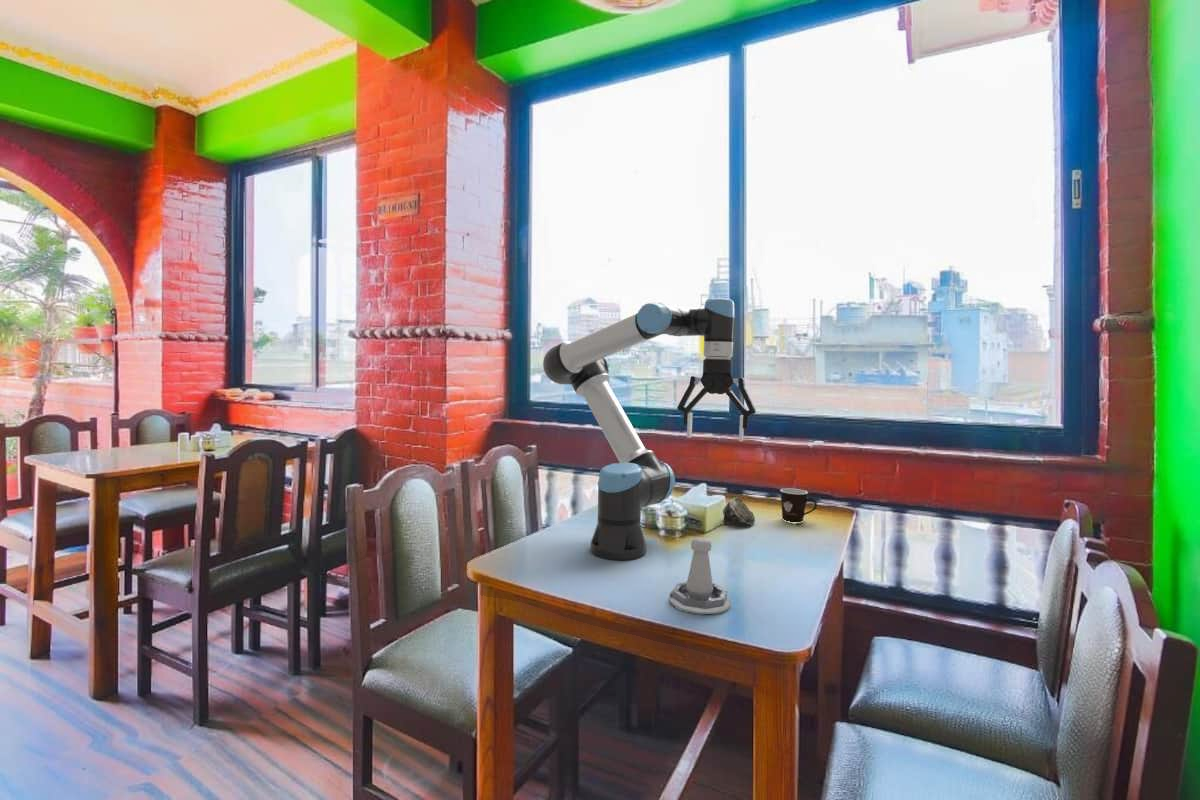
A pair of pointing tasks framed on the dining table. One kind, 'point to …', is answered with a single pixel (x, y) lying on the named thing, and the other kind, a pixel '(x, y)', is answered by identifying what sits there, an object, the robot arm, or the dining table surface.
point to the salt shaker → (700, 570)
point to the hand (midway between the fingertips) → (714, 439)
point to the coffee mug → (794, 504)
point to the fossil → (738, 513)
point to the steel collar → (711, 606)
